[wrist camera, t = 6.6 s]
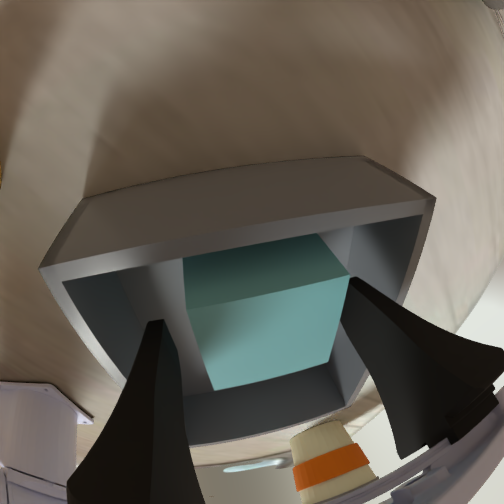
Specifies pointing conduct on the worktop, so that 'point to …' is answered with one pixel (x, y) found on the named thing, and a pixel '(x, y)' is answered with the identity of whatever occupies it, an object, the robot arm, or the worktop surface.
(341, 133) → the worktop surface
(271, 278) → the cube
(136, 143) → the worktop surface
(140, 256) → the tote
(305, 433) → the reusable coffee cup
